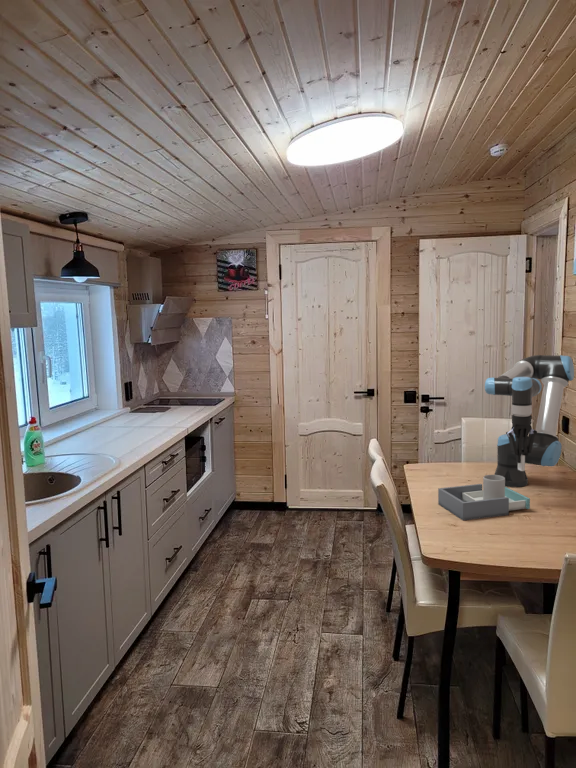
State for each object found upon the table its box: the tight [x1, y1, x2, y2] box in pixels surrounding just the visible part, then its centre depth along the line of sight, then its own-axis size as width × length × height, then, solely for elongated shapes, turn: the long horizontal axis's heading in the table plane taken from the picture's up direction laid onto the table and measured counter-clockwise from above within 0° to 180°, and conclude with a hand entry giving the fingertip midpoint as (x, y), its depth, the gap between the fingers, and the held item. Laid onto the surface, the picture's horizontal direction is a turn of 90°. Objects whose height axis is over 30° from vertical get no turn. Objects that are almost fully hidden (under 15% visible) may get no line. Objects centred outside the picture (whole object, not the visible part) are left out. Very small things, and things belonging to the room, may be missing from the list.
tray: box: [462, 486, 531, 511], centre depth 230 cm, size 20×19×4 cm
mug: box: [482, 474, 506, 500], centre depth 230 cm, size 12×8×11 cm
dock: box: [437, 483, 510, 521], centre depth 228 cm, size 20×20×7 cm
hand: (521, 470), depth 231 cm, fingers closed
